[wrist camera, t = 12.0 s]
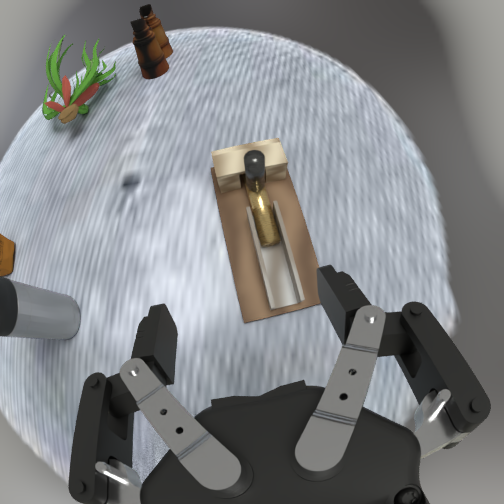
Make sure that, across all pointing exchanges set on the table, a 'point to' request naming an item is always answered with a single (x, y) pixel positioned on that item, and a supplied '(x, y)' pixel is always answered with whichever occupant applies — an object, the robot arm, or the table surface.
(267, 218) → the brass sliding bolt
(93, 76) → the decorative plant
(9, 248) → the coffee package
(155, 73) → the binoculars
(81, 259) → the table surface
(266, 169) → the guide
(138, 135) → the table surface
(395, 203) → the table surface
